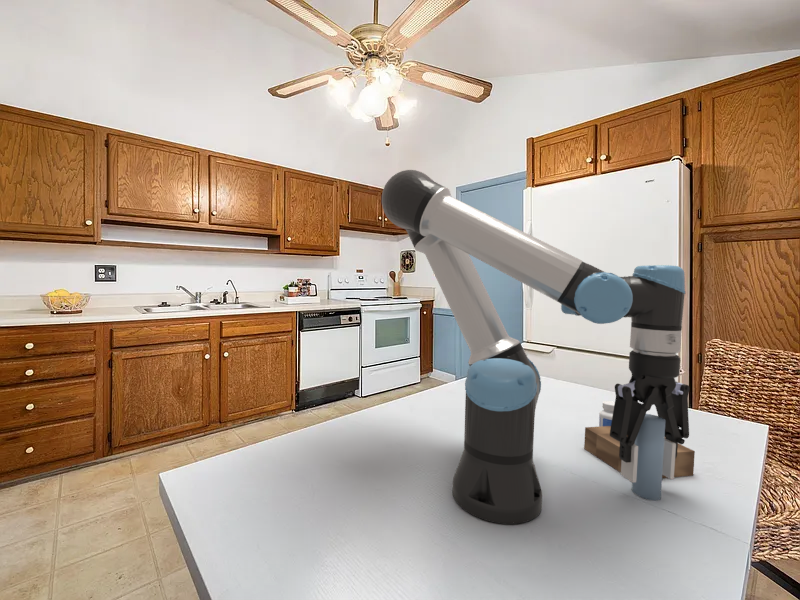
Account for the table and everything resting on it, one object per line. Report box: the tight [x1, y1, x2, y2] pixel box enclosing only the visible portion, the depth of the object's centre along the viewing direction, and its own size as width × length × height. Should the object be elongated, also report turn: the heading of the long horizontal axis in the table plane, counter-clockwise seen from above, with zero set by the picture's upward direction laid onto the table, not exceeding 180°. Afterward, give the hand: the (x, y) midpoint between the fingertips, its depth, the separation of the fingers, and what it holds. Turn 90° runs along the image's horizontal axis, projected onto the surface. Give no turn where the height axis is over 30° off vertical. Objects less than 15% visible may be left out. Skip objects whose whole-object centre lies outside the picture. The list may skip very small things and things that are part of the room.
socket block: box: [583, 426, 696, 479], centre depth 80 cm, size 14×14×5 cm
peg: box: [631, 413, 665, 501], centre depth 67 cm, size 4×4×14 cm
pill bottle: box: [598, 400, 615, 427], centre depth 89 cm, size 6×5×10 cm
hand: (647, 476), depth 67 cm, fingers open, 7 cm apart
